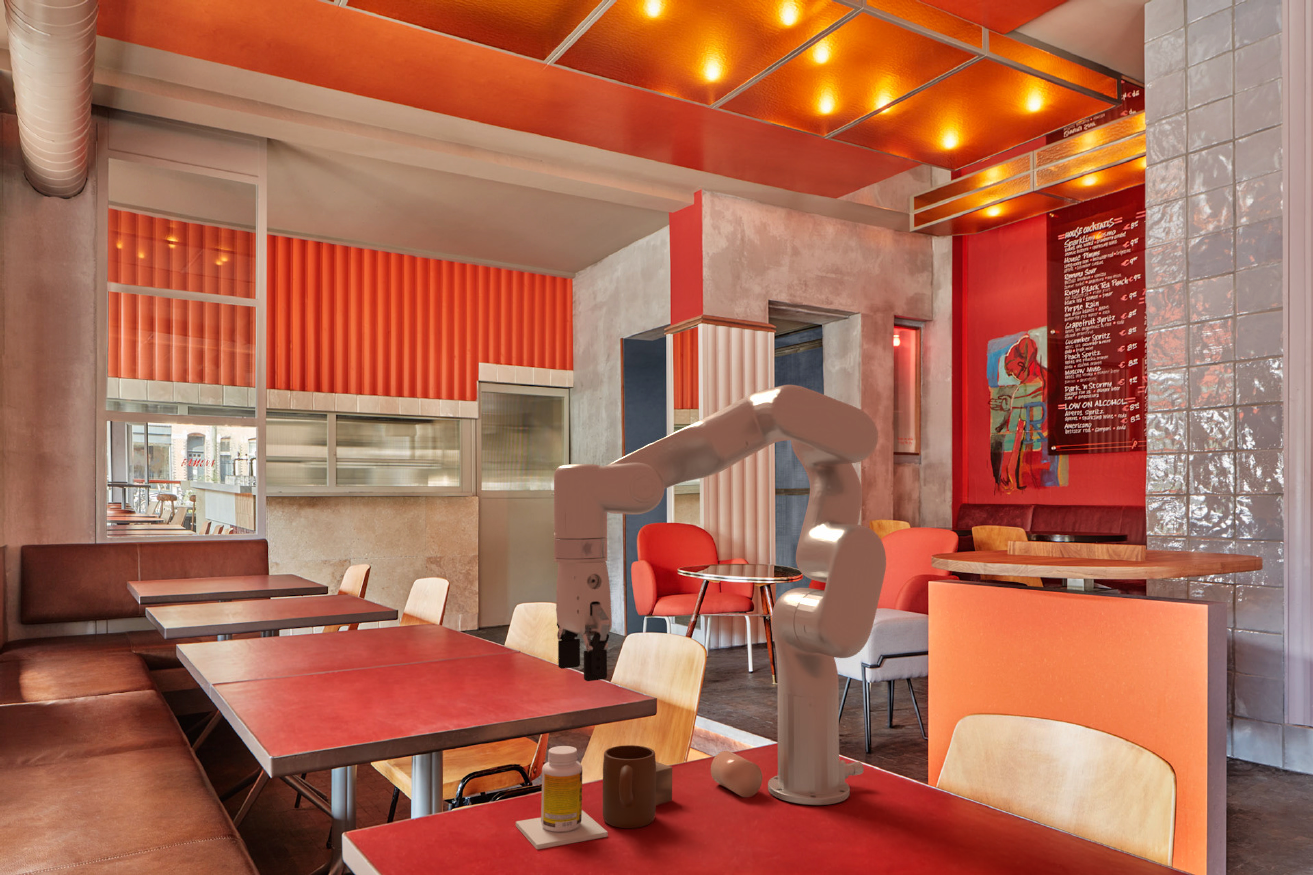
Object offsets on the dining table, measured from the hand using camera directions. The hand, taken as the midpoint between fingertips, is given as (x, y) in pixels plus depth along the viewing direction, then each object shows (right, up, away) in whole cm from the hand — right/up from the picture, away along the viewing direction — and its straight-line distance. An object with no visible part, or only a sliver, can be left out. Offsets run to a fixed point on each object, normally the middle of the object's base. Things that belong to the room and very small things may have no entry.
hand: (581, 673), depth 119 cm
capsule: (+21, -19, +14) cm, 32 cm away
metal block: (+9, -22, +10) cm, 26 cm away
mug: (+6, -21, -1) cm, 22 cm away
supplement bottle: (-3, -20, -3) cm, 21 cm away
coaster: (-3, -21, -3) cm, 21 cm away
